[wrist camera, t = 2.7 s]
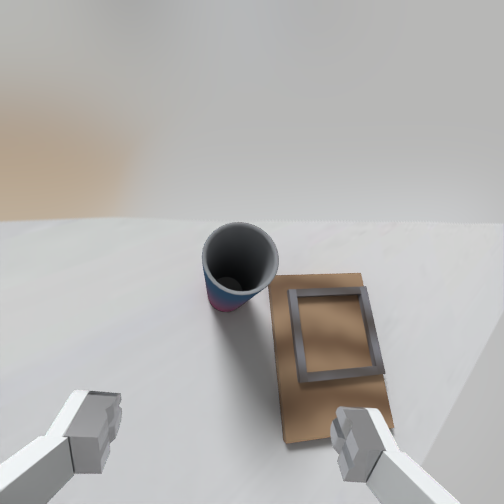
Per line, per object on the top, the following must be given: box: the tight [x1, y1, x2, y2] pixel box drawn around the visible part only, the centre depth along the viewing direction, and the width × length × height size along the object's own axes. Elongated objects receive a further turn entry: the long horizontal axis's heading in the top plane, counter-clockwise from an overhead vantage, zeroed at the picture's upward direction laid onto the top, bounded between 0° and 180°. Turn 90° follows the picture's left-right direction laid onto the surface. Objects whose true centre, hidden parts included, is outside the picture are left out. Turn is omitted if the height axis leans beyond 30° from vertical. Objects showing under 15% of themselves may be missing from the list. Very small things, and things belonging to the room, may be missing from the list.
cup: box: [202, 222, 279, 312], centre depth 32 cm, size 7×7×15 cm
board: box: [268, 273, 394, 444], centre depth 37 cm, size 20×14×2 cm
